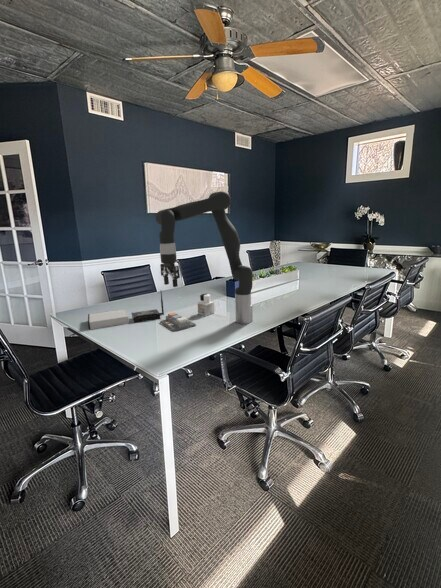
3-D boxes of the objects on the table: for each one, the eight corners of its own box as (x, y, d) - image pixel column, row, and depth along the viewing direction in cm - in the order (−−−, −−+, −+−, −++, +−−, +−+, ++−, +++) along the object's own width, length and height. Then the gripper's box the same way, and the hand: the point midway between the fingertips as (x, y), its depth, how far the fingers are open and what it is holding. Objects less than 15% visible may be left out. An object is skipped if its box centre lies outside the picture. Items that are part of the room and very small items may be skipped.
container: (197, 313, 193) (196, 294, 190) (206, 311, 198) (205, 292, 195) (206, 316, 188) (205, 296, 185) (214, 313, 193) (213, 293, 190)
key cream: (183, 320, 172) (183, 317, 172) (187, 322, 168) (186, 318, 168) (176, 321, 170) (176, 318, 169) (180, 323, 166) (179, 320, 166)
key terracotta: (174, 315, 182) (174, 312, 181) (177, 317, 178) (177, 313, 178) (168, 316, 179) (167, 313, 179) (171, 318, 176) (170, 315, 175)
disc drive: (89, 321, 187) (87, 314, 186) (125, 316, 196) (125, 308, 194) (89, 330, 171) (87, 322, 170) (129, 324, 180) (128, 316, 179)
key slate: (179, 317, 177) (178, 314, 176) (182, 319, 173) (182, 316, 173) (172, 319, 175) (172, 316, 174) (175, 321, 171) (175, 317, 170)
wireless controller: (134, 324, 179) (131, 296, 175) (131, 317, 191) (129, 292, 187) (167, 319, 186) (165, 292, 182) (162, 313, 199) (160, 288, 194)
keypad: (181, 317, 186) (180, 312, 185) (195, 325, 171) (195, 320, 170) (160, 322, 179) (159, 317, 178) (173, 331, 163) (173, 325, 162)
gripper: (182, 252, 139) (185, 286, 143) (167, 251, 150) (170, 282, 153) (168, 254, 134) (171, 289, 138) (154, 252, 145) (157, 284, 149)
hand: (170, 285), depth 146 cm, fingers open, 8 cm apart
